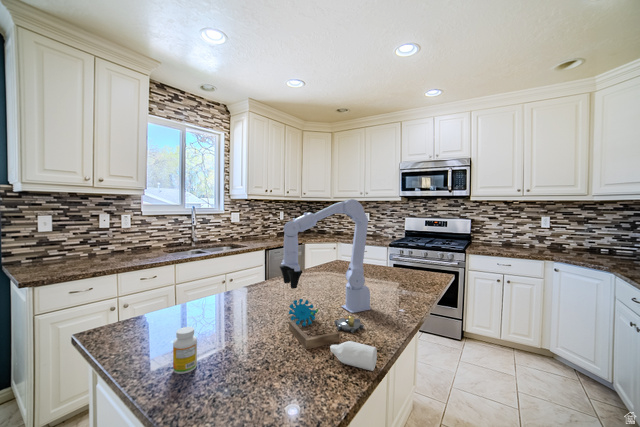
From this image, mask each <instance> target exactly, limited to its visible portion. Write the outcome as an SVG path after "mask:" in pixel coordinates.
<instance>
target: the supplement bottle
mask: <svg viewBox="0 0 640 427" xmlns="http://www.w3.org/2000/svg"><path fill="white" fill-rule="evenodd" d="M175 333H176V338H175V340H173V343H172V353H173V355H172V356H173V357H172V361H173V362H172V367H173V368H172V369H173V372H174V373H175V374H178V375H184V374H188V373H190V372H192V371H194V370H195V369H196V368H197V367H198V366H197V365H198V339H197V337H196V336H195V328H194V327H192V326H184V327H181V328H179V329H177V330H176V332H175Z"/></svg>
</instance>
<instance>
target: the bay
mask: <svg viewBox="0 0 640 427" xmlns="http://www.w3.org/2000/svg"><path fill="white" fill-rule="evenodd" d="M288 330H289V332H291V334H292V335H293V336H294V337H295V338H296V339H297V340H298V342H299V343H301V345H302V346H303V347H304V348H305V349H306V350H311V349H313V348H314V349H315V348H318V347H323V346H326V345H332V344H334V343H339V342H340V341H341V333H340V332H339V330H338V331H333V332H329V333H325V334H321V335H320V334H319V335H315V336H311V337H309V336H307V334H305V332H304V331H302V330H303V329H301V328H300V327H299V325H297V324H296V322H294V320H293V321H292V320H291V321H289V322H288Z"/></svg>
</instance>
